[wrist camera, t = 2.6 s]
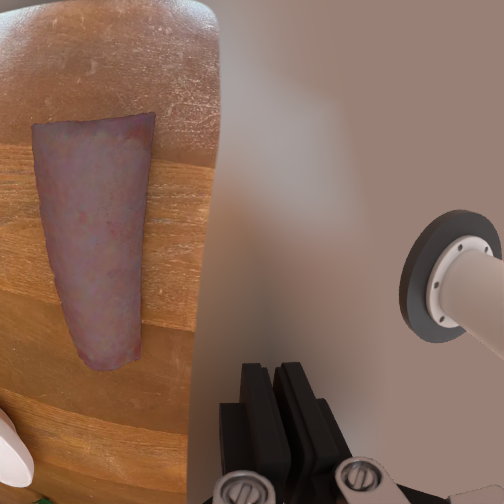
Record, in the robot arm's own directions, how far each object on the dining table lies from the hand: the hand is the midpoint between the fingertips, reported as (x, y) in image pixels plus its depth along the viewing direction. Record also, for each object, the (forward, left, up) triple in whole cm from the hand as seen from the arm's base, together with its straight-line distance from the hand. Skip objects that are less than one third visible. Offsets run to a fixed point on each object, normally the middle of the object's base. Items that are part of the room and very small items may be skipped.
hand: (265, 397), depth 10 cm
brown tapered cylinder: (+12, 0, -19) cm, 23 cm away
